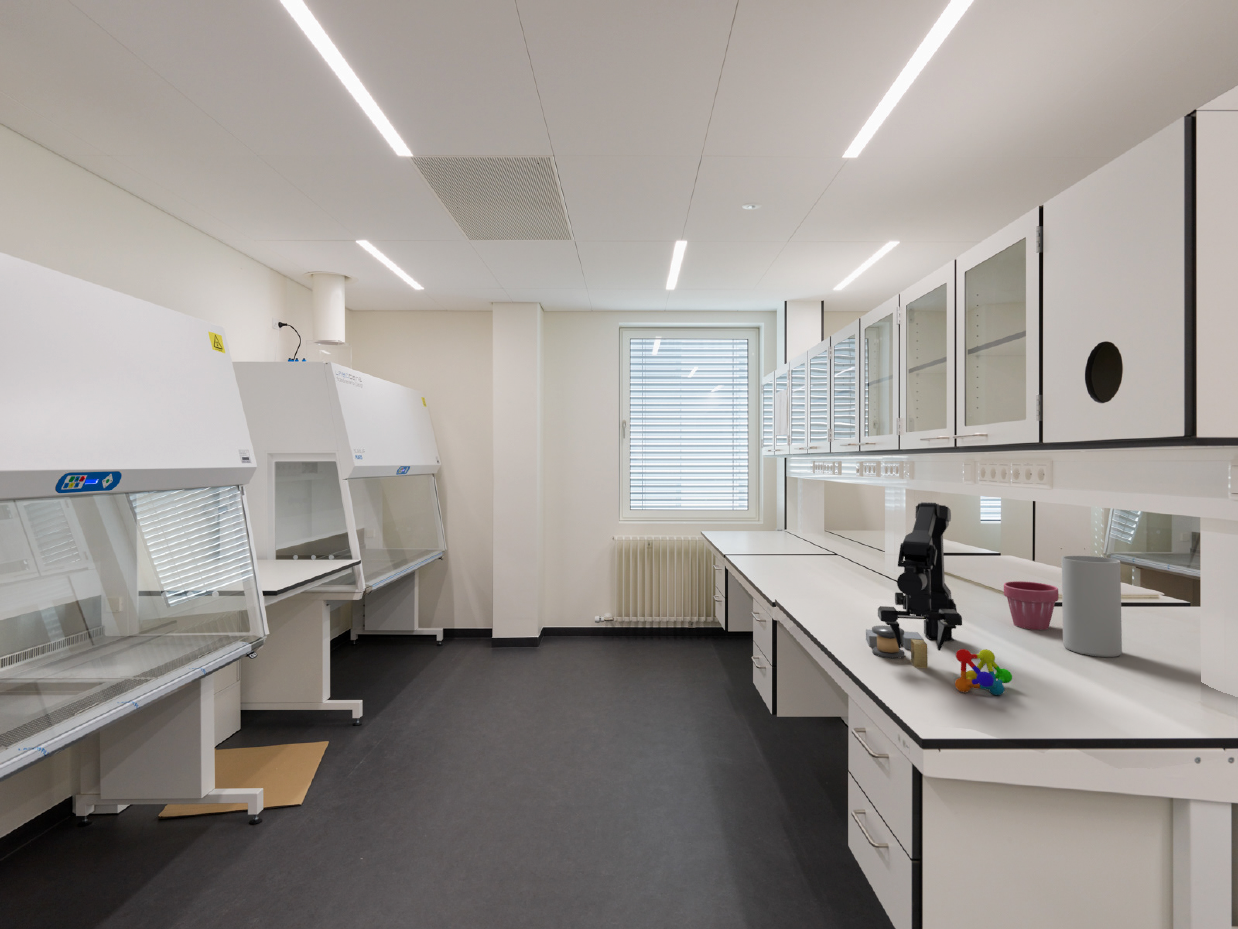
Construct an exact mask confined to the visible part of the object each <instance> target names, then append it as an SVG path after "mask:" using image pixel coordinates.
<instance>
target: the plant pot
mask: <svg viewBox="0 0 1238 929" xmlns="http://www.w3.org/2000/svg"><path fill="white" fill-rule="evenodd" d="M1003 596H1004V597H1006V598H1007V604H1008V607H1009V611H1010V615H1011V619H1012V622H1013V625H1014V626H1015V627H1018V626H1019V627H1018V628H1021V629H1025V628H1026V630H1031V631H1032V630H1034V631H1044V630H1045V631H1046V630H1049V628H1050V624H1051V620H1052V618H1053V617H1052V616H1053V612H1054V608H1055V604H1056V602H1058V601H1059V588H1058V587H1057V586H1055V585H1051V584H1048V583H1047V584H1046V583H1042V582H1035V581H1024V580H1023V581H1018V580H1015V581H1014V580H1013V581H1007V582H1004V583H1003Z"/></svg>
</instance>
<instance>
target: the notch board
mask: <svg viewBox="0 0 1238 929" xmlns="http://www.w3.org/2000/svg"><path fill="white" fill-rule="evenodd" d="M900 637H901V646H903V648H904V649H906V650H911V639H914V640H924V638H923V636H922V635H921V634H920V633H919V632H918V631H905V630H904V635H903V636H900ZM865 641H866V642H867V645H868V647H869V648H874V647H877V634H875V633H873V632H872V629H867V628H866V629H865ZM924 641H925V640H924Z"/></svg>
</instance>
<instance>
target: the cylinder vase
mask: <svg viewBox="0 0 1238 929" xmlns="http://www.w3.org/2000/svg"><path fill="white" fill-rule="evenodd" d="M1121 572H1122V571H1121V560H1119V559H1117V558H1111V557H1103V556H1093V555H1092V556H1091V555H1064V556H1061V593H1062V594H1061V595H1062V596H1061V597H1062V598H1061V599H1062V604H1061V605H1062V608H1061V609H1062V645H1063V647H1064V648H1066V649H1067V650H1069V651H1070V650H1071V652H1074V653H1077V654H1079V655H1080V654H1081V655H1084V654H1085V655H1084V656H1089V655H1090V656H1091V657H1097V658H1116V657H1119V656H1121V655H1122V653H1123V640H1122V639H1123V636H1122V635H1123V634H1122V633H1123V631H1122V583H1121V582H1122V580H1121V579H1122V577H1121V574H1122V573H1121Z"/></svg>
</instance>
